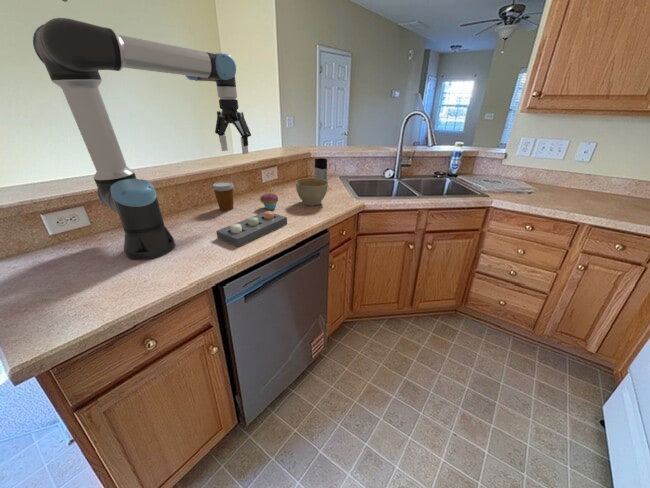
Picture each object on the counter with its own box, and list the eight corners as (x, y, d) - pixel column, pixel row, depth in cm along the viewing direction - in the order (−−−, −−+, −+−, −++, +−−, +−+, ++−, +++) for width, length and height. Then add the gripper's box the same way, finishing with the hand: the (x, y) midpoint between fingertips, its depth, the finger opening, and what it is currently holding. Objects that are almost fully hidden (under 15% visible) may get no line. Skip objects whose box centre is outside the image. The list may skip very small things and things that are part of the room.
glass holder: (317, 181, 183) (317, 157, 176) (338, 184, 178) (338, 159, 171) (311, 184, 176) (311, 160, 169) (332, 187, 171) (333, 162, 164)
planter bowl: (302, 210, 136) (302, 187, 131) (292, 200, 149) (291, 179, 144) (333, 205, 142) (333, 184, 137) (320, 196, 155) (320, 176, 150)
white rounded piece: (236, 237, 105) (234, 228, 103) (229, 234, 107) (227, 226, 105) (244, 233, 108) (243, 225, 106) (237, 231, 110) (236, 223, 108)
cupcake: (282, 207, 138) (281, 183, 133) (268, 212, 133) (266, 187, 127) (271, 203, 143) (269, 180, 138) (257, 207, 138) (255, 183, 132)
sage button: (253, 230, 111) (252, 221, 109) (246, 227, 113) (245, 219, 111) (261, 226, 114) (260, 218, 112) (254, 224, 116) (253, 216, 114)
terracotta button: (269, 223, 117) (268, 215, 115) (262, 221, 119) (261, 213, 118) (276, 220, 120) (275, 212, 118) (269, 218, 122) (268, 210, 120)
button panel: (238, 246, 101) (237, 239, 100) (217, 238, 107) (216, 230, 106) (287, 223, 121) (286, 217, 119) (267, 217, 127) (266, 211, 125)
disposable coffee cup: (230, 212, 132) (227, 187, 126) (212, 211, 133) (207, 186, 128) (240, 206, 140) (237, 182, 134) (222, 204, 142) (218, 180, 136)
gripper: (256, 99, 114) (261, 153, 124) (216, 98, 126) (223, 148, 136) (242, 98, 109) (248, 156, 118) (201, 98, 121) (209, 150, 130)
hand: (234, 152), depth 127 cm, fingers open, 13 cm apart
